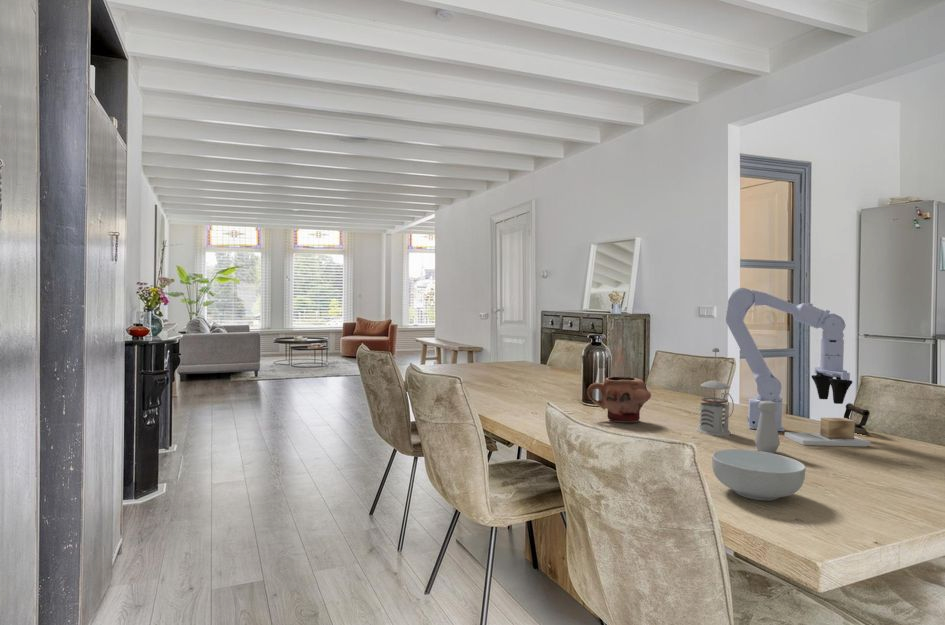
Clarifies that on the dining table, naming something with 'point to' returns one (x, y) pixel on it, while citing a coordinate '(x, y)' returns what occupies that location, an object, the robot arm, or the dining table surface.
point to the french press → (714, 409)
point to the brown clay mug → (621, 397)
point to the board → (824, 440)
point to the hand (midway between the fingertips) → (830, 401)
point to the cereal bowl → (758, 473)
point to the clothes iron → (865, 415)
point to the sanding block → (837, 428)
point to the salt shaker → (767, 428)
